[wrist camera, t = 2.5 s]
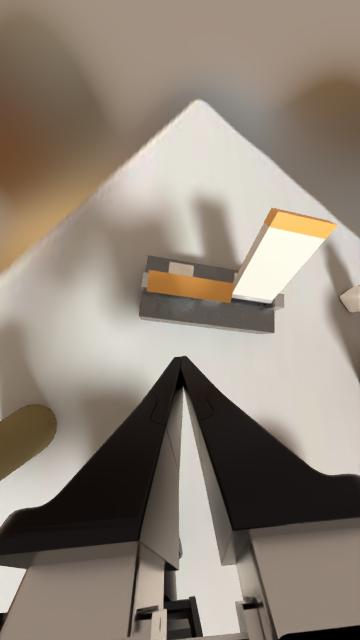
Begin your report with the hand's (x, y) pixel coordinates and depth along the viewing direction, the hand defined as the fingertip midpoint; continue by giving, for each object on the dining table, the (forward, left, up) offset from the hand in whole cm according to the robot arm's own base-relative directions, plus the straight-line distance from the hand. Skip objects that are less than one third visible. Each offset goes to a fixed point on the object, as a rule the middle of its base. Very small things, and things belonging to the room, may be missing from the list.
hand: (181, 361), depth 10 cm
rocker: (+8, -4, -8) cm, 12 cm away
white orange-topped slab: (+3, -13, -8) cm, 16 cm away
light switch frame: (+6, -8, -13) cm, 16 cm away
